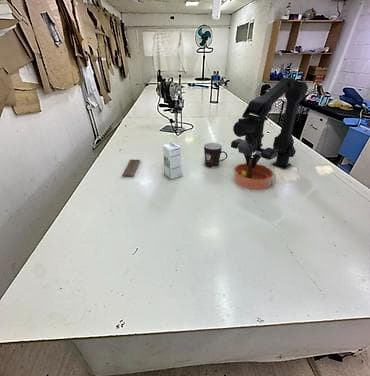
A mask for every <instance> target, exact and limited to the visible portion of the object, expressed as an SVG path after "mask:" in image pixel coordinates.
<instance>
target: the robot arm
mask: <svg viewBox="0 0 370 376" xmlns="http://www.w3.org/2000/svg"><path fill="white" fill-rule="evenodd" d="M308 90H309V85H308V84H307V83H306V81H300V80H296V79H295V78H292V77H282V78H280V80H279V81H278V82H277V83H276V84H275V85H274V86H272V87H271V88H270V89H268V91H267V92H265V94H262V95H259V96H257V97H255V98H253V99H251V100H250V101H249V102H248V104H247V106H246V108H245V110H244V111H243V113H242V116H241V117H239V118H238V120H237V121H236V122H235V123H234V125H233V127H232V130H233V133H234V135H235V136H236V137H237V139H234V140H232V141H231V142H230V148H232V149H235V150H237V149H238V153H239V154H242V155H243V156H244V159H245V163H247V166H248V164H249V158H251V157H252V158H253V162H252V168H254V167H255V165H256V164H258V162H259V161H260V160H261V158H262V159H265V160H269V161H271V160H272V159H274V158H276V159H275V162H273V163H272V165H273V166H275V167H278V168H280V169H284V170H286V169H287V168H289V167H290V166H292V164H291V163H289V161H290V158H294V157H295V155H296V152H297V150H296V149H295V147H294V143H295V140H294V138H293V130H294V126H295V123H296V117H297V114H298V110H299V105H300V103H301V102H302V101H303V100H304V99H305V97H306V95H307V92H308ZM283 96H284V97H285V100H286V106H285V110H284V115H283V119H282V123H281V128H280V132H279V133H278V134H277V136H275V137H274V138H273V139H274V140H273V143H272V147H266V148H264V147H263V143H262V141H263V138H264V137H265V134H264V128H265V121H268V120H269V118H268V117H267V116H268V114H270V112H271V111H272V109H273V105H274V104H275V103H276V102H277V101H278V100H279V99H280V98H281V97H283ZM243 137H244V139H242V138H243ZM262 147H263V148H262Z"/></svg>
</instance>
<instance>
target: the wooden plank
mask: <svg viewBox="0 0 370 376" xmlns="http://www.w3.org/2000/svg"><path fill="white" fill-rule="evenodd" d="M140 162H141V159H132V158H131V159H130V160H129V161H128V164H127V166H126V168H125V169H124V170H123V173H122V176H123V177H134V176H135V174H136V171H137V169H138V166H139V164H140Z"/></svg>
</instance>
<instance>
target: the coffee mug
mask: <svg viewBox="0 0 370 376" xmlns="http://www.w3.org/2000/svg"><path fill="white" fill-rule="evenodd" d="M222 149H223V145H222V144H220V143H218V142H207V143H204V144H203V151H204V166H205V167H207V168H210V169H211V168H214V167H218V166H219V163H221V162H224V161H225V160H226V159H227V158H228V153H227V152H226V151H224V150H222ZM222 153H224V155H225V157H224V158H223V159H221V154H222Z"/></svg>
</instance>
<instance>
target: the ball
mask: <svg viewBox="0 0 370 376" xmlns="http://www.w3.org/2000/svg"><path fill="white" fill-rule="evenodd" d="M240 175H242V176H244V177H246V176H247V172H246V171H242V172H241V173H240Z"/></svg>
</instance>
